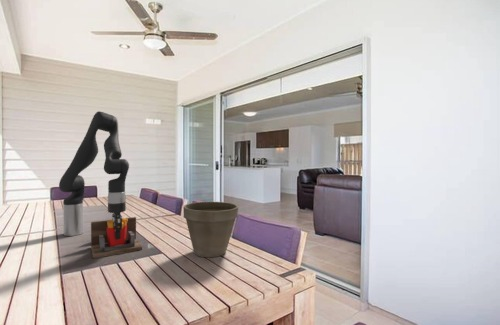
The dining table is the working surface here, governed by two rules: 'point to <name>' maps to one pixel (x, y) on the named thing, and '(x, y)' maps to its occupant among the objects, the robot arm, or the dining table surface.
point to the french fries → (111, 233)
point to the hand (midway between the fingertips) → (117, 237)
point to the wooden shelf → (101, 239)
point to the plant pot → (210, 226)
